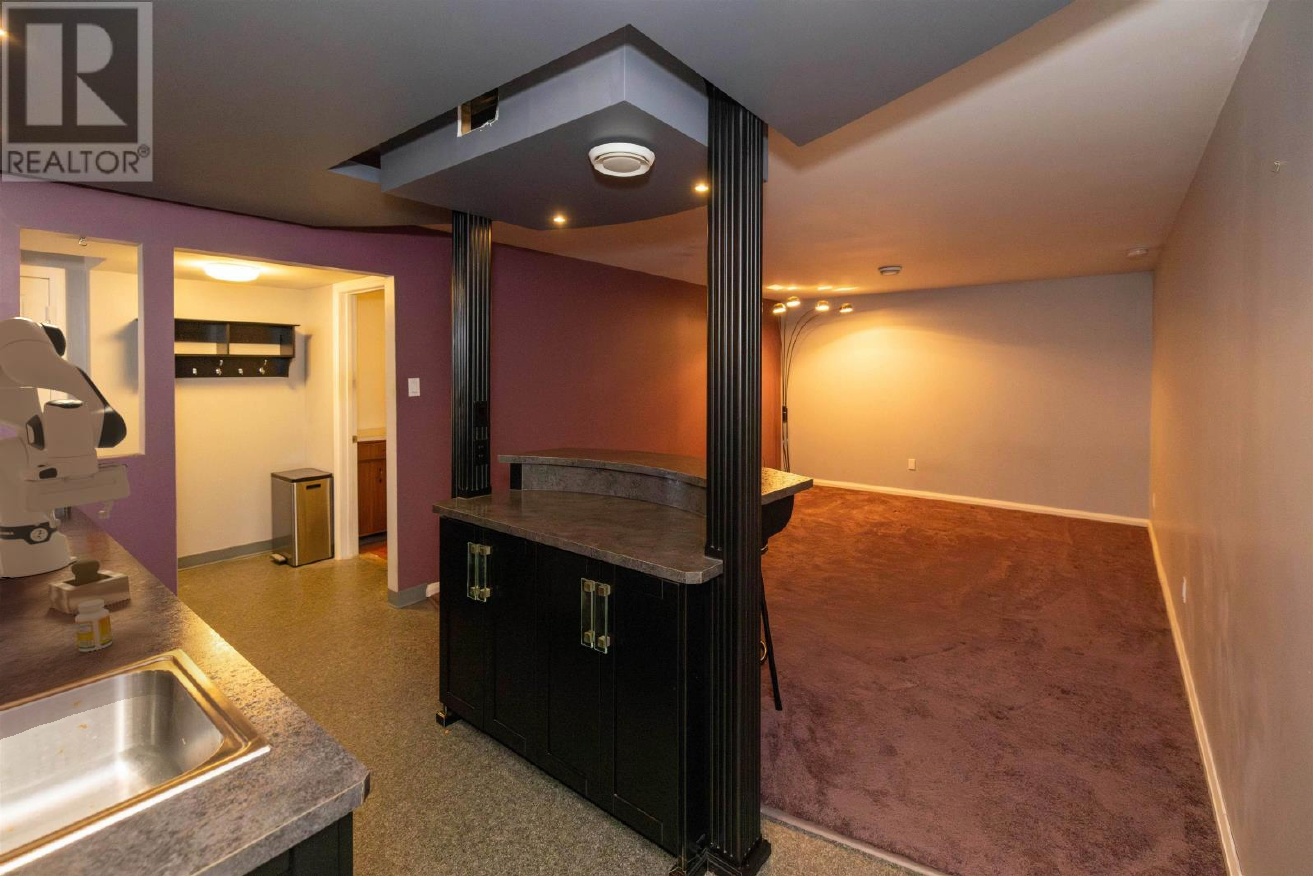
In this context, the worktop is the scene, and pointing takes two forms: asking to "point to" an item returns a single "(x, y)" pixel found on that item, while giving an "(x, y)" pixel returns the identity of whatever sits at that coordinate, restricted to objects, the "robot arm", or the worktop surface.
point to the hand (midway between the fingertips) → (80, 522)
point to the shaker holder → (88, 591)
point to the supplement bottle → (93, 626)
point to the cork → (85, 571)
